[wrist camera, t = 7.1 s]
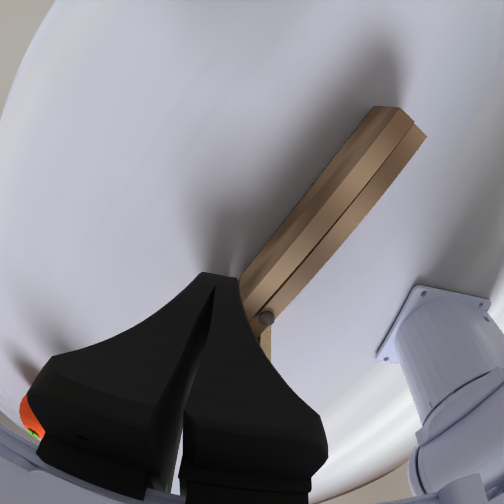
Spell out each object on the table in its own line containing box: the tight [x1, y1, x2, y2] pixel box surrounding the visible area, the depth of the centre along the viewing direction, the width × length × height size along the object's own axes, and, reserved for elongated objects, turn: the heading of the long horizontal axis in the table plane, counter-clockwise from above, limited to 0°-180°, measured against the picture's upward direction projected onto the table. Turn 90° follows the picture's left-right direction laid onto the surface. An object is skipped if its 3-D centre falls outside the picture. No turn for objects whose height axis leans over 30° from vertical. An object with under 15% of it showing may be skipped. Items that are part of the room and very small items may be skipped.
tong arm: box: [239, 106, 414, 320], centre depth 17 cm, size 14×1×4 cm, turn 146°
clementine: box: [19, 394, 45, 439], centre depth 30 cm, size 8×7×7 cm
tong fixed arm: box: [248, 123, 427, 339], centre depth 18 cm, size 18×1×4 cm, turn 146°
